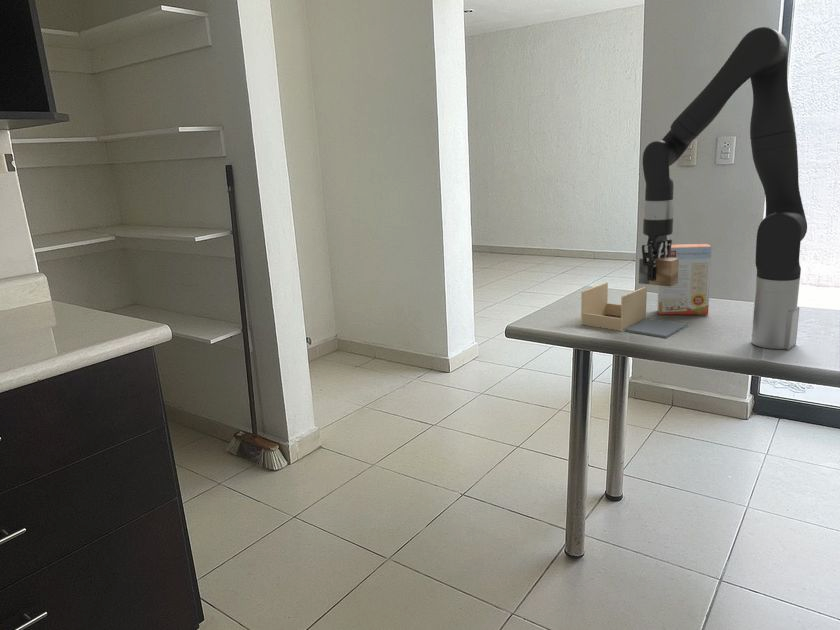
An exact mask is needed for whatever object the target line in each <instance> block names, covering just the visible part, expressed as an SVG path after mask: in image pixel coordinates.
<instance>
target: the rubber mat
mask: <svg viewBox="0 0 840 630" xmlns="http://www.w3.org/2000/svg"><path fill="white" fill-rule="evenodd" d="M686 326H687V327H688V326H689V324H688V323H684V322H676V321H671V320H663V319H657V318H649V317H648V318H647V317H646V319H644V320H642V321H640V322H638V323H636V324H634V325H632V326H630V327H628V328H626V329H625V330H624V332H628V333H632V334H633V333H634V334H640V335H646V336H651V337H657V338H663V339H664V338H665V339H667V338H669V337H671V336H673V335H675V334H676V333H678V332H680V331H682V330H683V329H684V327H685V328H687V327H686ZM679 330H680V331H679ZM677 331H678V332H677ZM675 332H676V333H675ZM672 334H673V335H672Z"/></svg>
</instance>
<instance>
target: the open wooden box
mask: <svg viewBox="0 0 840 630" xmlns="http://www.w3.org/2000/svg"><path fill="white" fill-rule="evenodd" d="M608 284H609V282H607V281H606V282H604V283H602V284H598V285H595V286H593V287H591V288H588V289H585V290H582V291H581V300H580V301H581V302H580V303H581V307H580V309H581V311H580V312H581V313H580V315H581V317H580V318H581V319H580V320H581V321H580V322H581V323H580V325H583V326H589V327H596V328H600V327H601V329H606V328H608V329H607V330H612V329H613V331H619V332H623V331H624V330H625V329H626V328H628V327H630V326H632V325H634V324H636V323H638V322H640V321H642V320H644V319H646V318H647V295H648V294H647V293H648V287H647V286H643V287H641V288H639V289H636V290H634V291H631V292H628V293H627V294H624V295H621V300H620V301H621V304H620V303H619V304H617V303H611V302H608V300H609V299H608V296H609V295H608V293H609V291H608V290H609V287H608V286H609V285H608ZM607 315H608V316H607ZM613 316H616V317H613ZM624 332H625V331H624Z"/></svg>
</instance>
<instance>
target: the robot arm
mask: <svg viewBox="0 0 840 630" xmlns="http://www.w3.org/2000/svg"><path fill="white" fill-rule="evenodd" d="M788 50H789V49H788V41H787V38H786V37H785V36H784V34H782V33H781V32H780V31H778V30H776V29H774V28H771V27H767V26H763V27H762V26H761V27H757V28H754V29H751V30H750V31H748V32H747V33H746V34H745V35H744V36H743V37H742V39H741V40H740V42H739V43H738V44H737V45H736V47H735V48H734V49H733V50H732V52H731V54H730V55H729V57H728V58H727V59H726V61H725V62H724V64H723V65H722V67H721V68H719V70H718V71H717V73H716V74H715V75H714V77H713V78H712V79H711V80H710V81H709V82H708V83H707V85H706V86H705V87H704V89H703V90H701V92H700V93H699V94H698V95H697V96H696V97H695V98H694V99H693V100H692V101H691V102H690V103H689V104H688V105H687V106H686V107H685V108H684V110H683V111H682V112H681V113H680V114H679V115H678V116H677V117H676V118H675V119H674V120H673V122H672V123H671V125H670V129H669V131H668V132H667V133H666V135H664V136H663V138H662V139H660V140H656V141H655V140H653V141H652V142H650V143H648V144H647V146H645V148H644V151H643V153H642V154H643V155H642V169H643V175H644V182H645V193H644V196H645V197H644V198H645V199H644V207H643V224H642V228H643V229H642V233H643V235H645V236H647V242H646V244H643V245H641V253H642V254H641V256H642V258H643V265H644V266H647V267H648V272H647V279H648V280H650V281H655V280H656V269H657V267H656V266H657V260H658V259H660V257H666V258H669V257H670V251H671V245H673V239H670V238H668V236H670V235H672V234H673V232H674V230H673V229H674V213H675V212H674V210H675V209H674V189H675V188H674V181H673V178H671V177H670V167H671V166H672V165H673V164H675V163H676V162H677V161H678V160H679V159H680V158H681V156H683V154H684V153H685V151H686V150H687V149H688V148H689V146H690V144H691V143H692V142H693V141H694V140H695V139H697V137H699V136H700V134H702V133H703V131H705V129H706V128H707V127H709V125H710V124H711V123H712V122H714V120H715V118H717V116H718V115H719V114H720V112H721V111H722V110H723V108H724V107H725V105H726V104H727V102H728V101H729V100H730V99H731V98H732V96H733V95H734V94H735V92H737V90H738V89H739V88H740V87H742V85H743V84H745V82H747V81H748V80H750V84H751V88H752V97H753V98H752V110H751V117H750V126H749V136H750V137H749V139H750V146H751V154H752V161H753V163H754V164H753V165H754V167H755V170H756V173H757V175H758V178H759V180H760V183H761V186H762V187H763V190H764V196H765V197H764V198H765V217H764V218H763V219H762V220H761V222H760V223H759V225H758V228H757V233H756V245H755V267H756V280H755V292H754V304H753V315H752V318H753V319H752V328H751V329H752V330H751V344H753V345H754V346H756V347H760V348H764V349H770V350H771V349H772V350H791V349H792V348H793V347H794V346H795V345H796V344H797V339H798V328H799V326H798V325H799V318H800V306H798V303H799V290H800V281H801V272H802V268H801V265H800V252H801V242H802V241H803V239H804V238H805V236H806V235H807V231H808V222H807V218H806V213H805V210H804V205H803V202H802V201H803V200H802V196H801V191H800V184H799V158H798V157H799V155H798V144H797V142H798V141H797V134H796V126H795V125H796V124H795V120H794V113H793V108H792V103H791V98H790V94H789V85H788V84H789V83H788Z"/></svg>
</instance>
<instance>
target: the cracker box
mask: <svg viewBox="0 0 840 630" xmlns="http://www.w3.org/2000/svg"><path fill="white" fill-rule="evenodd" d="M669 258H679V268H678V284H676V285H673V286H671V287H669V286H659V285H657V312H658V315H661V316H663V315H665V316H668V315H669V316H670V315H678V316H679V315H681V316H683V315H685V316H686V315H690V316H691V315H692V316H693V315H694V316H696V315H697V316H700V315H701V316H703V315H704V316H707V315H709V308H710V307H709V306H710V304H709V302H710V286H711V285H710V284H711V283H710V282H711V269H712V268H711V267H712V265H711V264H712V260H711V259H712V246H711V245H710V244H708V243H689V244H687V243H686V244H685V243H683V244H682V243H680V244H672V245H671V251H670V257H669Z"/></svg>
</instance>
